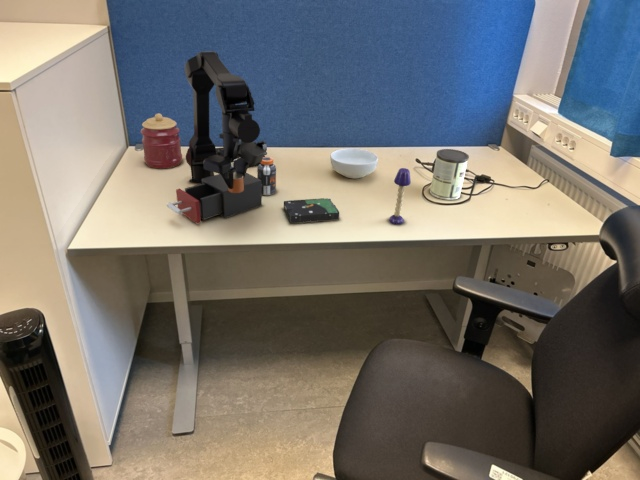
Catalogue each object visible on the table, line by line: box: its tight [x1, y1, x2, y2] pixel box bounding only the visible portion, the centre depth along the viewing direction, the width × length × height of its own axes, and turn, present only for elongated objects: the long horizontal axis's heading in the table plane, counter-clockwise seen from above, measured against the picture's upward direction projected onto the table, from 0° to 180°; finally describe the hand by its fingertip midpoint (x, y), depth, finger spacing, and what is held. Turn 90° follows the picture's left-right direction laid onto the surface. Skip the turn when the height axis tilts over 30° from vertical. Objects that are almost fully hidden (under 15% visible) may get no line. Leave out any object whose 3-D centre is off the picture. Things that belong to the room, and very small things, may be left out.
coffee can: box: [429, 148, 470, 201], centre depth 156 cm, size 10×10×14 cm
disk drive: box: [283, 198, 340, 224], centre depth 140 cm, size 10×3×15 cm
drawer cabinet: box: [202, 170, 263, 219], centre depth 141 cm, size 13×11×8 cm
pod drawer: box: [166, 183, 223, 225], centre depth 134 cm, size 17×10×7 cm, turn 134°
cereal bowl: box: [329, 148, 379, 179], centre depth 168 cm, size 17×17×7 cm
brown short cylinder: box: [228, 173, 244, 193], centre depth 128 cm, size 4×4×4 cm
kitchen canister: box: [140, 113, 183, 169], centre depth 165 cm, size 13×13×18 cm
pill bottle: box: [256, 156, 277, 196], centre depth 150 cm, size 6×6×11 cm
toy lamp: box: [388, 167, 411, 226], centre depth 135 cm, size 5×5×17 cm
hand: (235, 185), depth 129 cm, fingers closed on brown short cylinder, 4 cm apart
